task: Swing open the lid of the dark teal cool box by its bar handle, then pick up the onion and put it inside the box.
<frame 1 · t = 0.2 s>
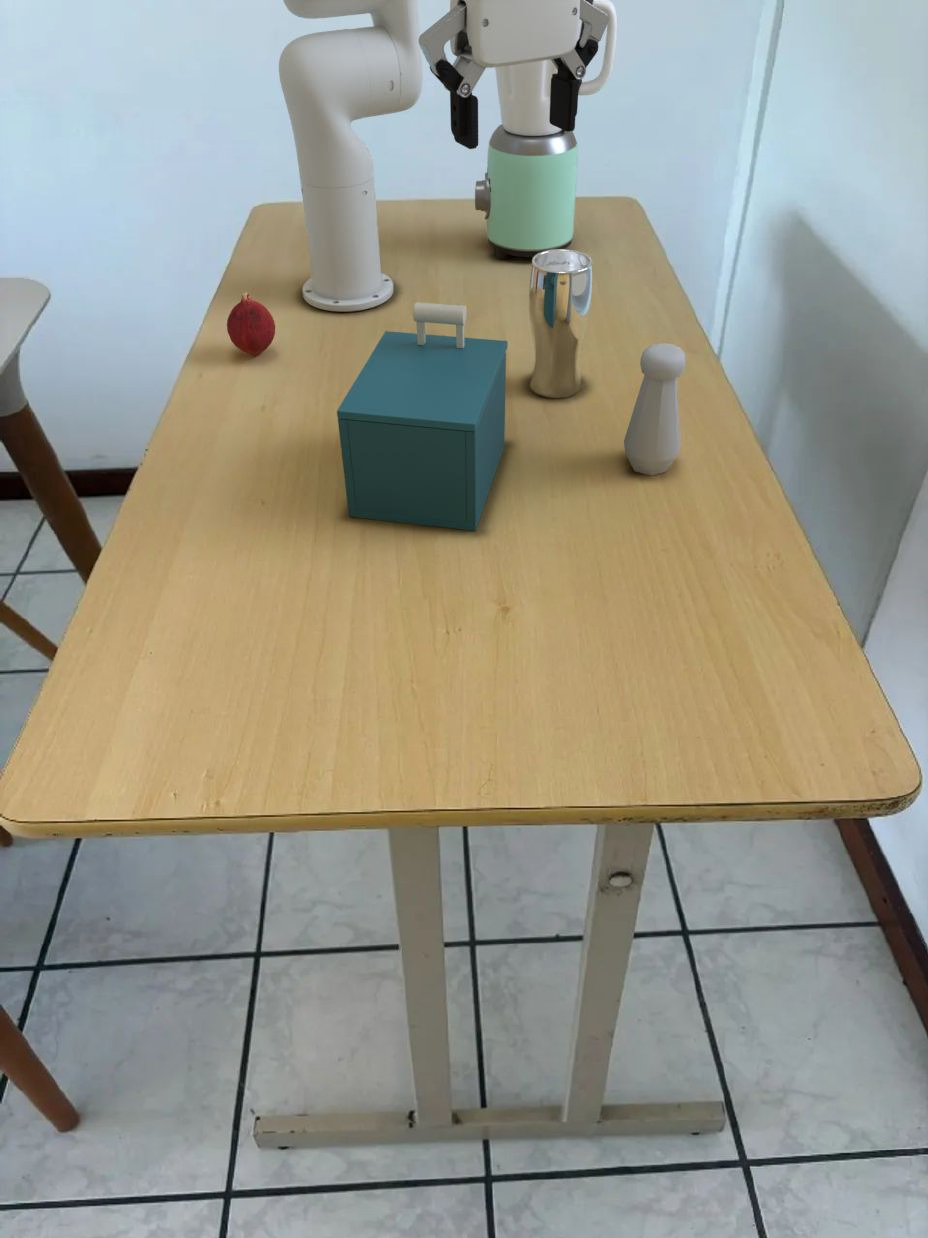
hand: (514, 135, 83), 31 cm above the table, tool pointing down, fingers open, 9 cm apart
lid: (426, 357, 90), point 13 cm above the table, hinge at 0.0°
mint green blender: (534, 249, 145), on the table
onion: (256, 357, 120), on the table
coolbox: (430, 479, 99), on the table
beer glass: (555, 387, 114), on the table
salt shaker: (649, 466, 101), on the table
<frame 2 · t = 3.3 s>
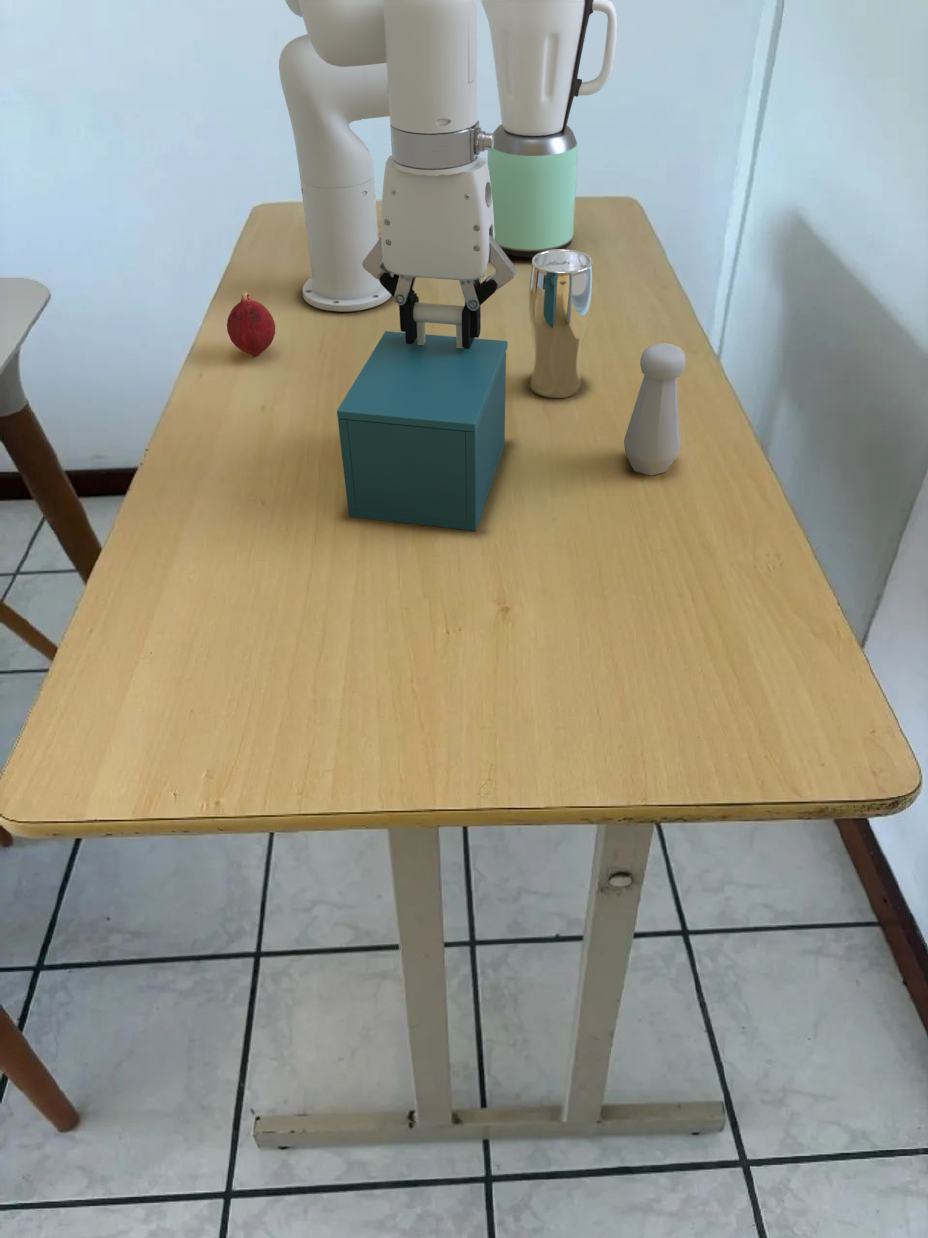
hand: (440, 338, 95), 12 cm above the table, tool pointing down, fingers closed on lid, 5 cm apart
lid: (426, 357, 90), point 13 cm above the table, hinge at 0.0°, touching gripper
everything else where it was.
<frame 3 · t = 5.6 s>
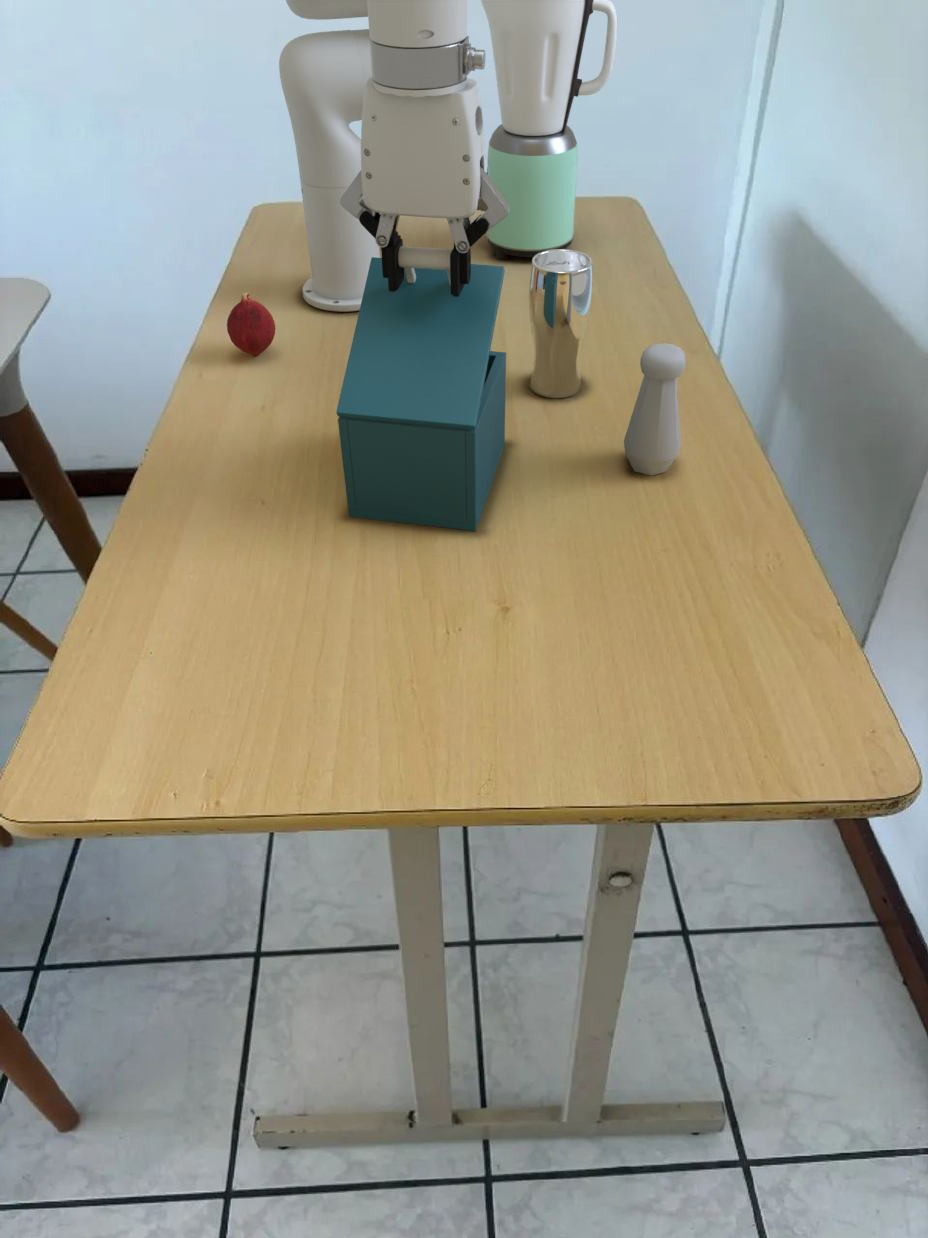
hand: (427, 285, 87), 20 cm above the table, tool pointing down, fingers closed on lid, 5 cm apart
lid: (418, 327, 86), point 18 cm above the table, hinge at 31.8°, touching gripper
everything else where it was.
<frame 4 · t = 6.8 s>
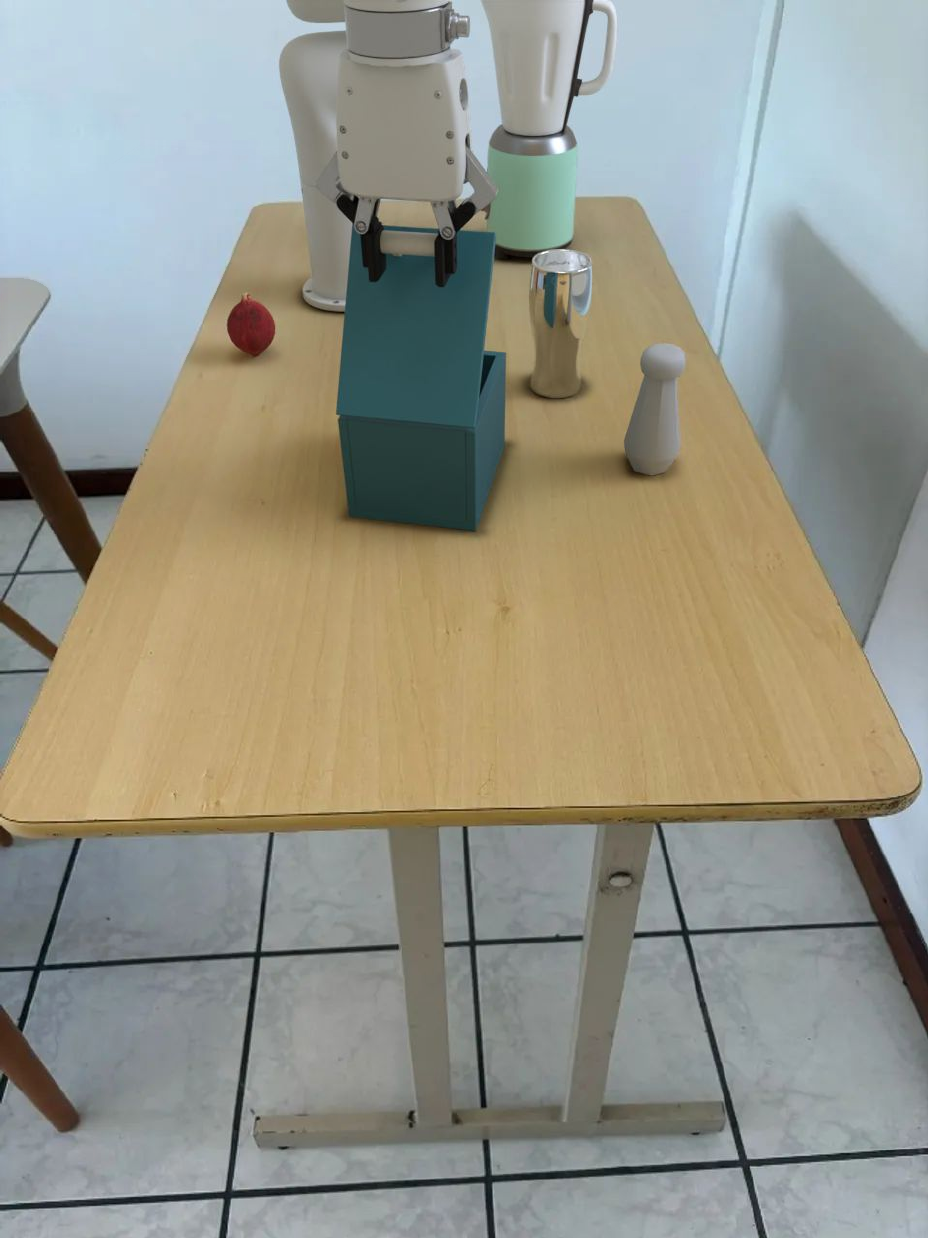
hand: (410, 276, 81), 23 cm above the table, tool pointing down, fingers closed on lid, 5 cm apart
lid: (408, 321, 83), point 19 cm above the table, hinge at 55.4°, touching gripper
everything else where it was.
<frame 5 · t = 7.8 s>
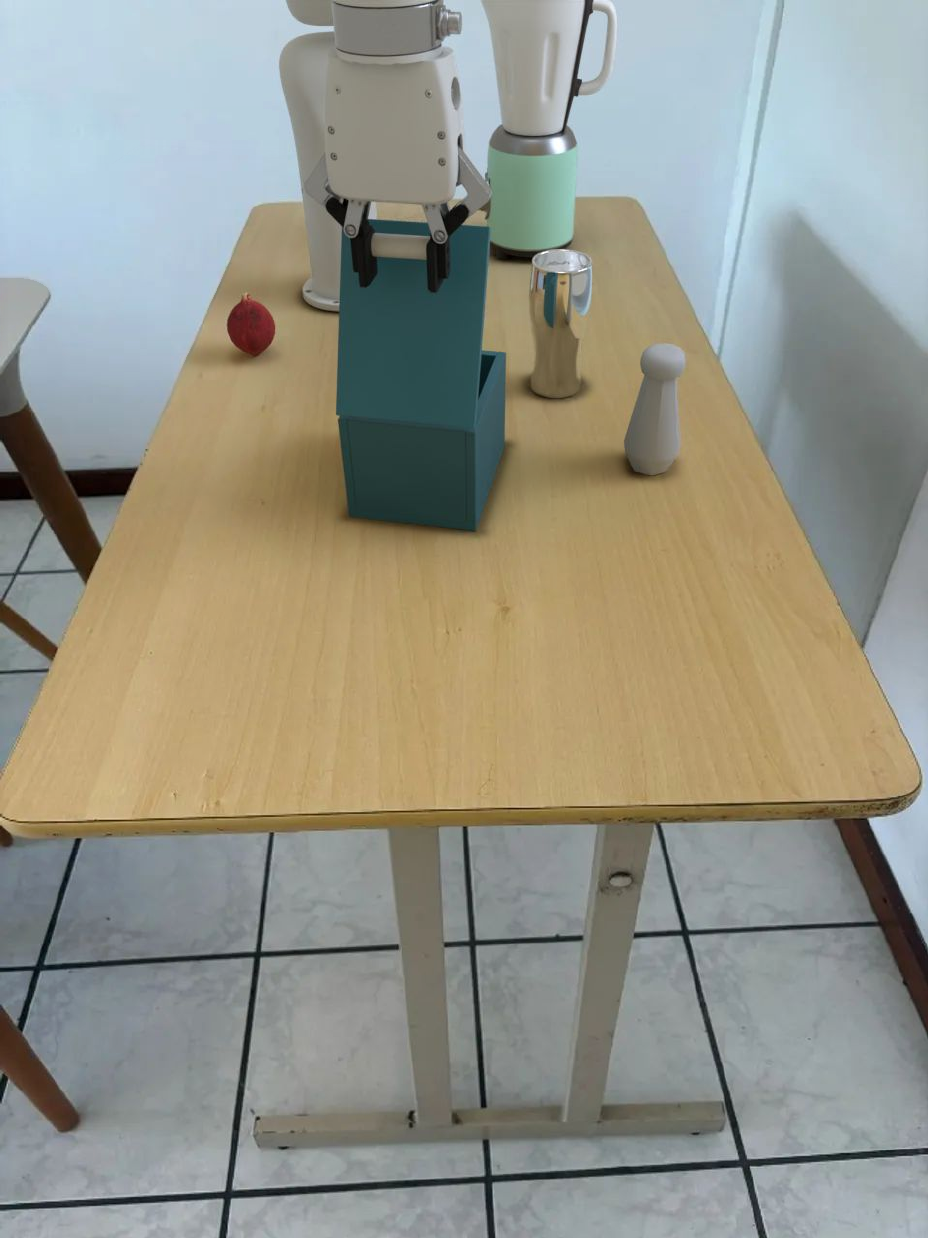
hand: (402, 281, 79), 23 cm above the table, tool pointing down, fingers closed on lid, 5 cm apart
lid: (404, 324, 81), point 20 cm above the table, hinge at 65.4°, touching gripper
everything else where it was.
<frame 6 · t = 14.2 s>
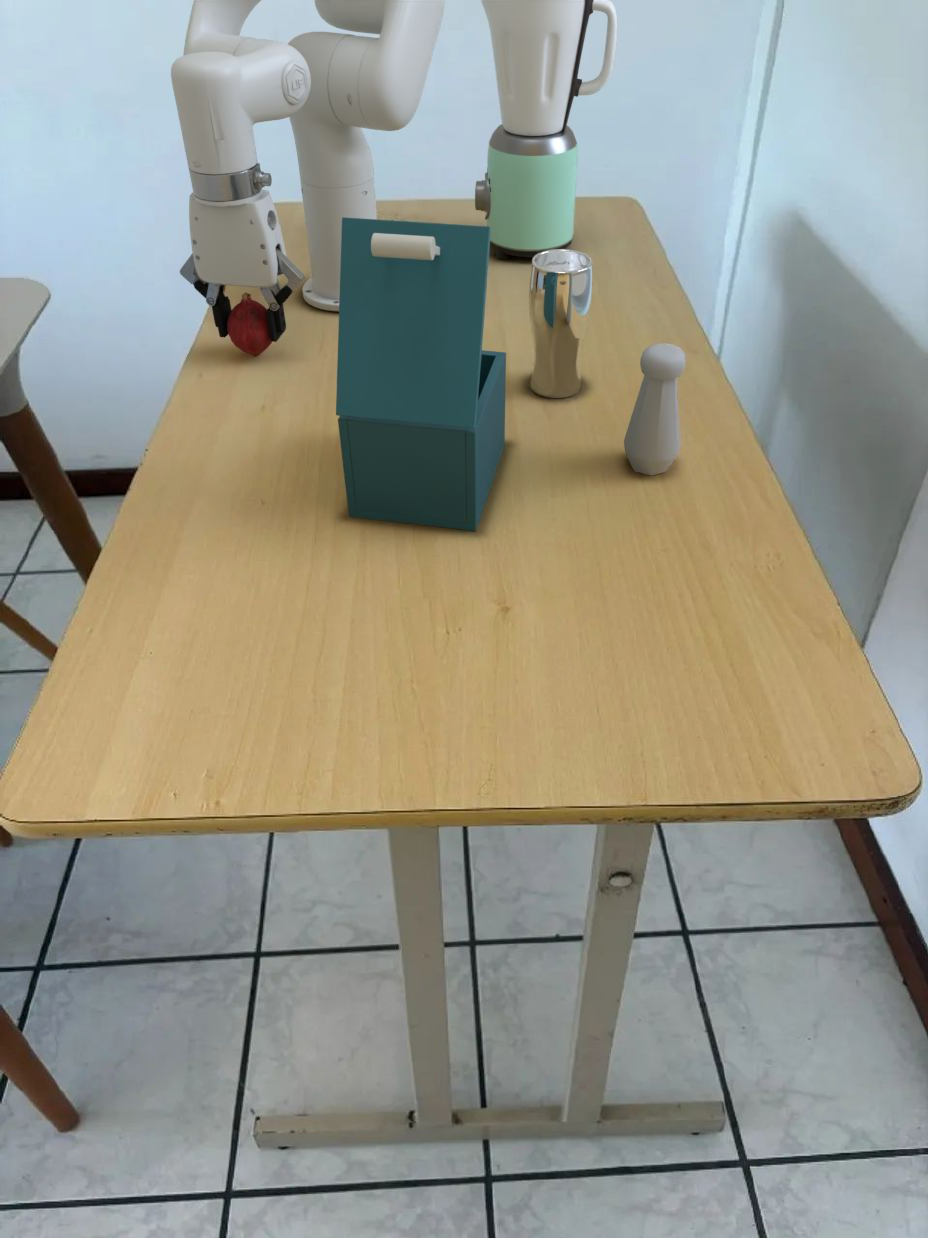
hand: (252, 333, 118), 3 cm above the table, tool pointing down, fingers closed on onion, 5 cm apart
lid: (404, 324, 81), point 20 cm above the table, hinge at 65.5°
onion: (256, 357, 120), on the table, touching gripper
everything else where it was.
when the fingers open (13 cm above the table, at t = 21.9 s): onion drops 8 cm, resting on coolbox.
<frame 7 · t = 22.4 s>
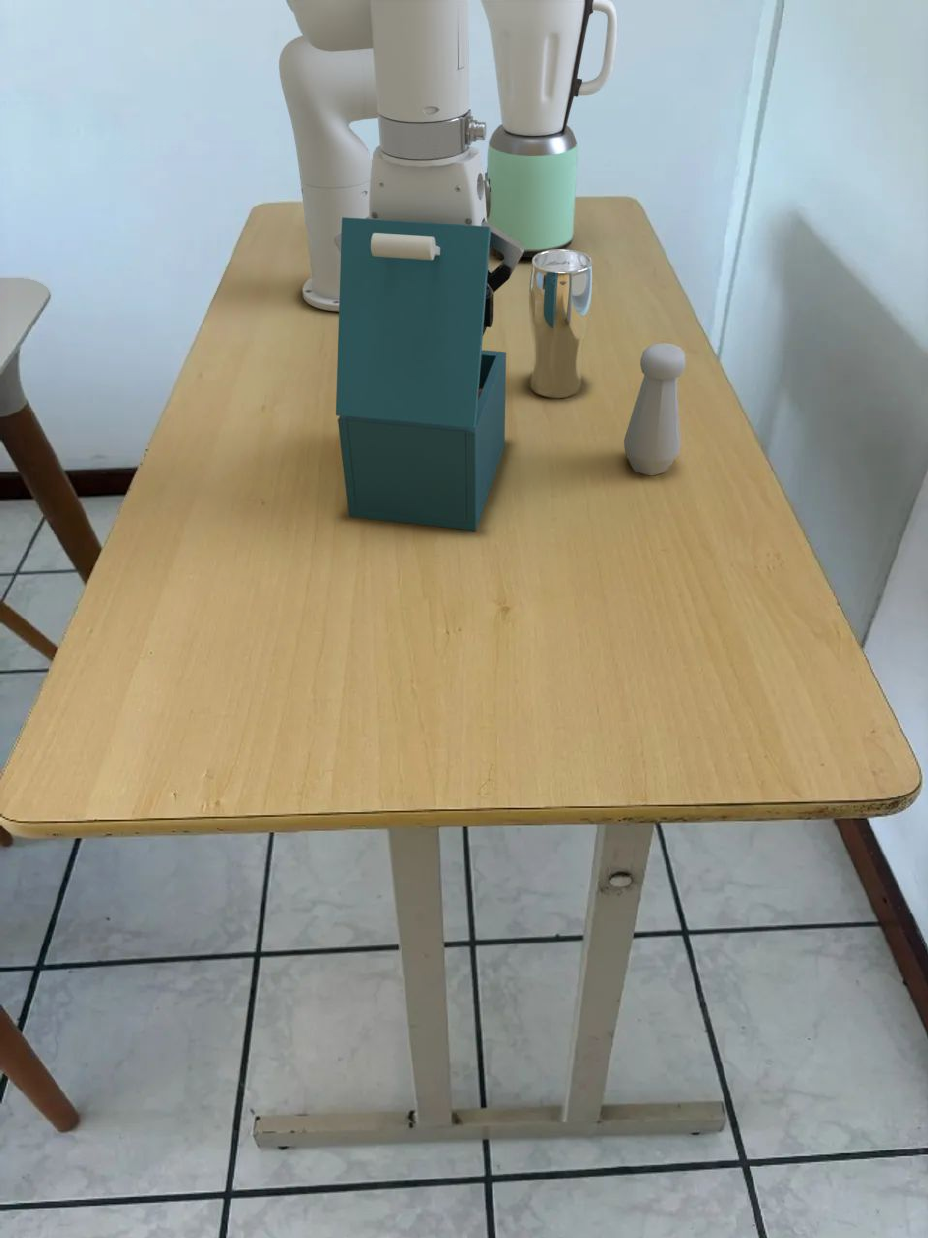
hand: (431, 328, 91), 15 cm above the table, tool pointing down, fingers open, 9 cm apart
onion: (438, 451, 100), point 1 cm above the table, touching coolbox
everything else where it was.
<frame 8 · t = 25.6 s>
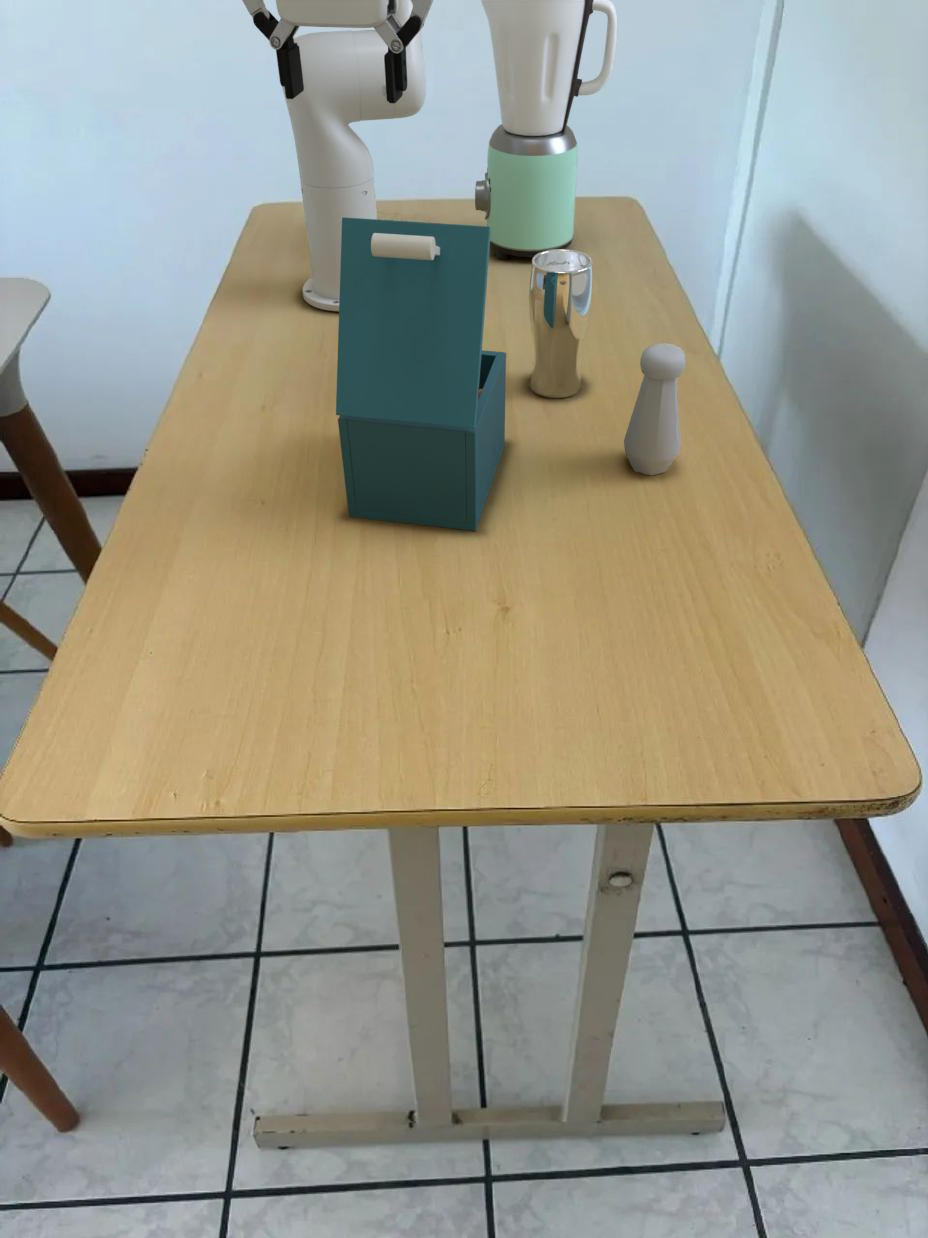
hand: (344, 97, 89), 32 cm above the table, tool pointing down, fingers open, 9 cm apart
nothing on the table moved.
at the end: lid at +66° (first picture: +0°); onion inside the target area in the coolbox (3.2 cm from its centre), point 1.5 cm above the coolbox's base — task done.
